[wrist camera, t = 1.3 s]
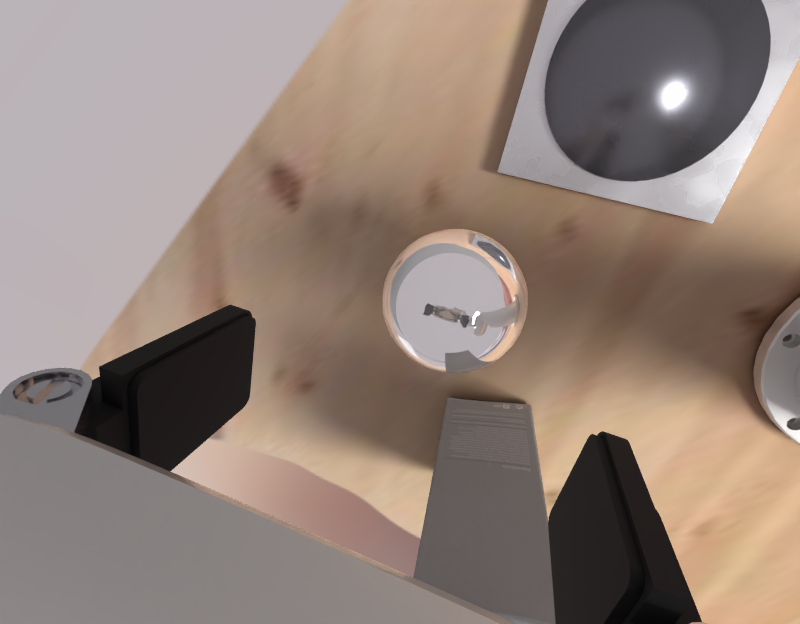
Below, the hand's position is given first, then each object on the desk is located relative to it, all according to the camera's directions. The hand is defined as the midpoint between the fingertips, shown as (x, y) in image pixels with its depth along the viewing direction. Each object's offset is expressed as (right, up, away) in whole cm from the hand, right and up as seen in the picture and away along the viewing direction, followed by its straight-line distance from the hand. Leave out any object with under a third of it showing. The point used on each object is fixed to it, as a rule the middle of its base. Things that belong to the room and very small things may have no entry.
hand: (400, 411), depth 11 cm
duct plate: (+13, +15, +11) cm, 23 cm away
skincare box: (+7, -8, +21) cm, 23 cm away
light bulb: (+5, +6, +17) cm, 18 cm away
